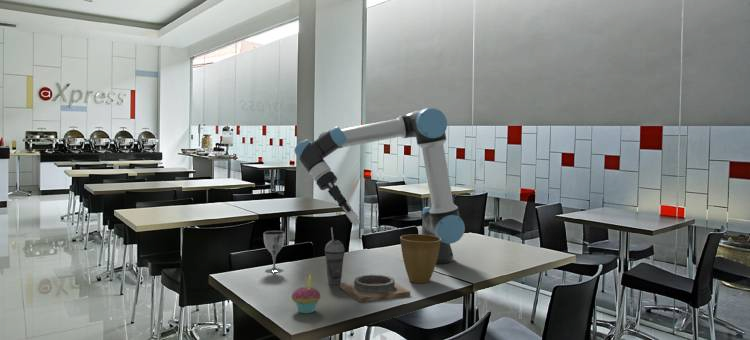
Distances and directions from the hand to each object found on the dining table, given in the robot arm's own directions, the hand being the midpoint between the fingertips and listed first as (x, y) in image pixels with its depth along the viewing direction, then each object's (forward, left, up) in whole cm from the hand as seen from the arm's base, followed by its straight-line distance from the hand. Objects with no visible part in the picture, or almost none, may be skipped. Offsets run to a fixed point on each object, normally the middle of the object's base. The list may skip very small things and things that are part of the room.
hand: (356, 222), depth 191 cm
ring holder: (0, +17, -21) cm, 27 cm away
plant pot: (-21, +11, -21) cm, 32 cm away
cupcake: (+27, +27, -21) cm, 44 cm away
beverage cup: (+9, +2, -21) cm, 23 cm away
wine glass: (+25, -23, -21) cm, 40 cm away
